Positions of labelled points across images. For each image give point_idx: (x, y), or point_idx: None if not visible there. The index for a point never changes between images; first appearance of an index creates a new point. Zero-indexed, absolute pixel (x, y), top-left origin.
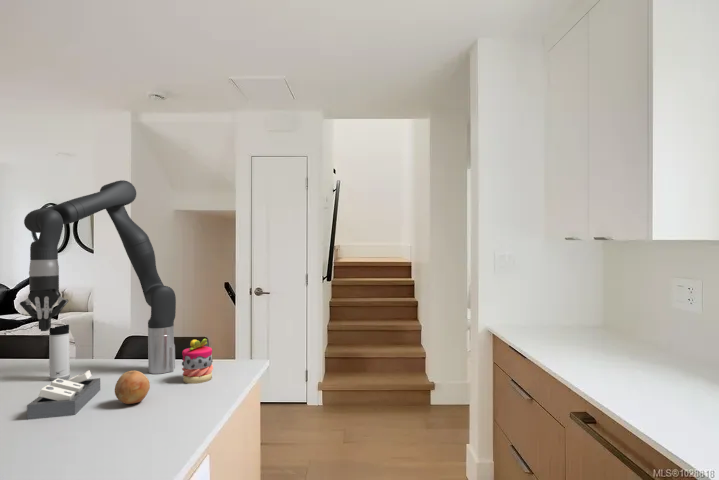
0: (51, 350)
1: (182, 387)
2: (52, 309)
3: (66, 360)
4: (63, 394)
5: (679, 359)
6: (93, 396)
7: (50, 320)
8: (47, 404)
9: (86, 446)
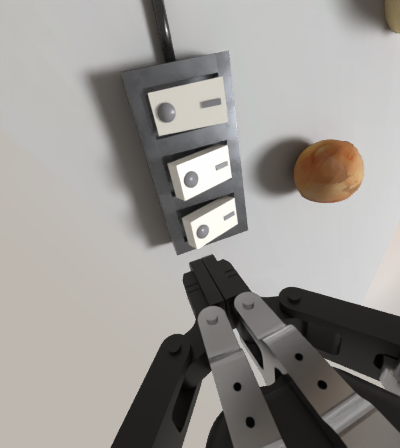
0: None
1: (378, 65)
2: (290, 325)
3: None
4: (228, 228)
5: None
6: None
7: (247, 290)
8: (207, 243)
9: None
